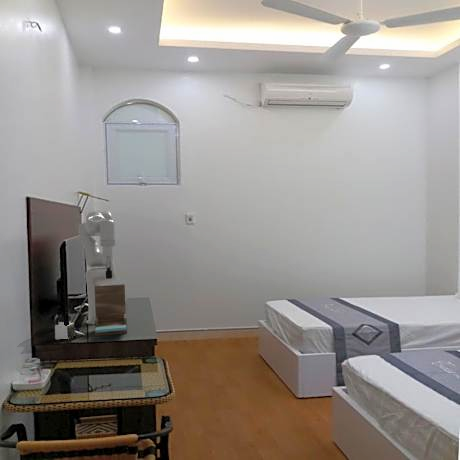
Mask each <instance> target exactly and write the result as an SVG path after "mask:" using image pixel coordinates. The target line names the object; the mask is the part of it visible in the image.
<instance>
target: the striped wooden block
mask: <svg viewBox="0 0 460 460" xmlns="http://www.w3.org/2000/svg"><path fill="white" fill-rule="evenodd" d="M125 285H126V284H125V283H124V284H105V285H100V286H94V288H95V312H96V317H95V324H94V330H95V329H96V327H105V326H117V325H126V327H127V328H128V323H127V311H126V309H127V308H126V300H125V298H126V287H125ZM124 334H128V329H127V330H118V331H107V332H95V337H101V336H102V335H103V336H112V335H114V336H115V335H124Z"/></svg>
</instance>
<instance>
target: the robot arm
mask: <svg viewBox="0 0 460 460" xmlns="http://www.w3.org/2000/svg"><path fill="white" fill-rule="evenodd" d="M115 227H116V226H115V221H114V220H113V216H112V213H111V212H110V211H107V210H103V211H101V210H100V211H99V210H98V211H97V210H96V211H90V212H88V213H87V215H86V216H85V222H82V223H79V226H78V236H79V238H80V241H81V243H82V245H83V248H84V256H85V257H84V258H85V263H86V266H87V267H88V268H90V269H88V270H86V272H85V282H86V287H87V304H88V306H87V308H88V319H87V320H86V324H87V325H95V317H96V312H95V288H94V286H102V285H111V284H114V283H115V282H116V281H117V271H116V264H115V260H114V247H115V246H116V239H115V238H116V236H115V235H116V234H115V233H116V232H115ZM93 237H99V242H100V243H98V242H97V240H96V239H94V238H93ZM99 245H100V246H99ZM100 247H101V249H102V250H100Z"/></svg>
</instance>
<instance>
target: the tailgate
mask: <svg viewBox="0 0 460 460" xmlns="http://www.w3.org/2000/svg"><path fill="white" fill-rule="evenodd" d="M118 330H127V331H128V326H127V327H126V325H117V326H105V327H96V329H95V328H94V331H95V332H107V331H118Z"/></svg>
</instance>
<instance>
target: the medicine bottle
mask: <svg viewBox="0 0 460 460" xmlns="http://www.w3.org/2000/svg"><path fill="white" fill-rule="evenodd" d="M68 319H69V325H67V326H65V325H64V317H63V316H62V314H59V315H58V317H57V320H58V321H57V322H58V324H55V325H54V334H55V336H54V338H55V340H60V339H68V340H70V339H72V338H74V337H73V336H75V337H76V329H75V323H74V322H72V319H71V314H69V315H68ZM71 337H72V338H71ZM69 338H70V339H69Z"/></svg>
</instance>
